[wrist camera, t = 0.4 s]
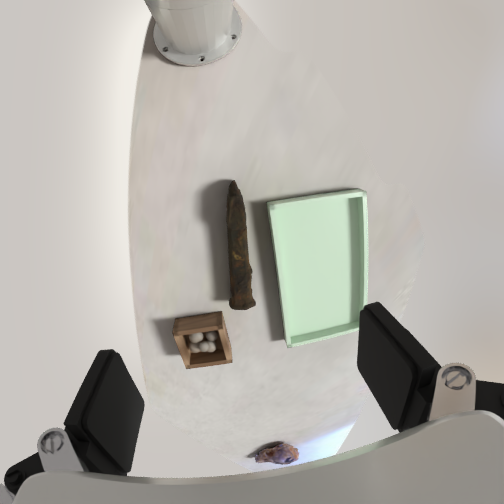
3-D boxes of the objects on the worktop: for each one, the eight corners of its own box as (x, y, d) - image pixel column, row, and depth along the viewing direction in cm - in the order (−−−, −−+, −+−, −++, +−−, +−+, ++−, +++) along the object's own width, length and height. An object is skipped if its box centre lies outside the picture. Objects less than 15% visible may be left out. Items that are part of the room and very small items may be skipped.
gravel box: (175, 318, 46) (172, 333, 42) (221, 311, 47) (222, 325, 43) (188, 354, 49) (186, 370, 45) (231, 347, 50) (232, 363, 46)
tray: (266, 202, 41) (269, 205, 39) (358, 188, 42) (366, 191, 40) (284, 339, 50) (287, 348, 48) (360, 321, 51) (365, 328, 48)
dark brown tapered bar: (253, 298, 47) (257, 313, 42) (228, 299, 46) (229, 314, 42) (252, 179, 40) (256, 183, 36) (224, 180, 40) (224, 183, 36)
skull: (258, 458, 65) (260, 475, 60) (248, 447, 63) (250, 466, 57) (299, 447, 65) (303, 464, 59) (292, 435, 62) (296, 454, 56)
